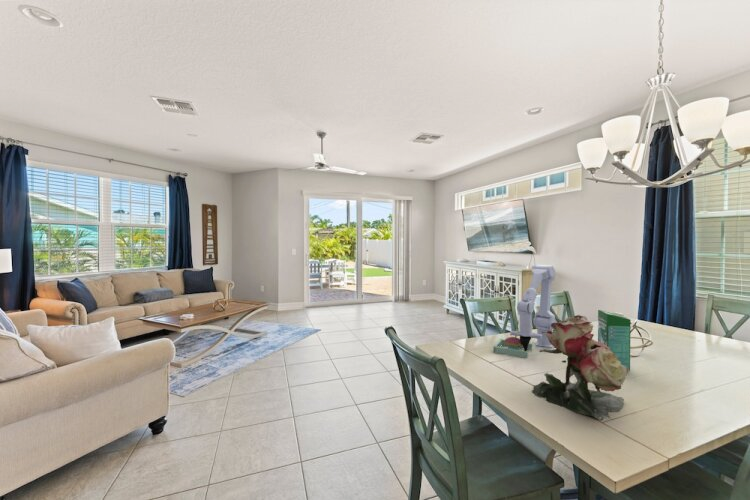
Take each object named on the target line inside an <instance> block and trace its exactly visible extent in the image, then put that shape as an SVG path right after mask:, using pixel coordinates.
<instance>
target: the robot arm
mask: <svg viewBox="0 0 750 500" xmlns="http://www.w3.org/2000/svg"><path fill="white" fill-rule="evenodd" d="M555 272H556V270H555V267H554V266H553V265H551V264H548V265H546V264H533V266H532V267H531V275H532V278H531V281H530V284H529V288H526V290H525V291H524V294H523V296H522V298H521V300H520V301H518V303H517V305H516V310H517V312H518V313H517V314H518V318H519V320H518V321H519V322H518V323H519V326H518V327H519V328H518V329H519V330H518V331H517V332H516V330H510V331H509V335H510V336H514V337H515V336H517V337H519V339H520V340H521V342H522V345H523V348H524V349H523V348H522V349H523V351H528V349H527V348H528V344H529V343H530V342H531V340H532V339H536V343H535V346H539V347H546V348H550V349H552V348H553V347H554V346H553V345H552V344H551V343H550V342H549V339H548V338H547V336H546V335H545V334H544V333H541V332H545V333H547V330H549V331H552V330H553V328H552V327H551V323H557V320H556V315H555V314H554V313H553V312H552V311H551V299H552V296H551V295H552V282H553V281H555V275H556V273H555ZM539 286H540V297H539V299H540V302H539V310H538V311H536V312H535V313H534V318H533V312H534V311H535V302H536V298H537V296H538V292H537V290H538V288H539ZM532 321H533V323H532ZM533 324H534V325H533ZM532 325H533V326H535V328H536V331H537V332H536V333H533V327H532ZM552 332H553V331H552Z"/></svg>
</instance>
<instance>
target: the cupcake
mask: <svg viewBox="0 0 750 500" xmlns="http://www.w3.org/2000/svg"><path fill="white" fill-rule="evenodd" d="M518 329H519V328H518V327H517V328H516V329H515V331H516V332H517V331H519V330H518ZM504 340H505V342H504V343H505V344H506V345H507V346H506V348H509V349H515V350H520V349H521V348H520V346H522V342H521V340H520V337H519V338H518V336H515V335H514V336H510V337H506V338H505V339H504Z"/></svg>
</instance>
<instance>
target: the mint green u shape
mask: <svg viewBox="0 0 750 500" xmlns="http://www.w3.org/2000/svg"><path fill="white" fill-rule="evenodd" d="M504 342H505V339H503V338H500V339H499V340H498V341H497V342H496V343H495V344H494V345H493V353H495V352H497V353H496V354H500V353H502V354H501V355H506V354H507V355H508V356H511V357H513V356H514V357H518V358H525V359H526V357H527V359H528V350H529V349H530V351H532V350H533V343H530V342H529V344H528V348H527V351H524V350H520V349H523V345H522V346H520V348H519V350H515V349H509V348H508V347H507V345H506V344H505V343H504ZM501 345H502V346H501ZM504 345H506V347H504ZM500 346H501V347H500ZM507 355H506V356H507Z"/></svg>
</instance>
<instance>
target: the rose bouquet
mask: <svg viewBox="0 0 750 500" xmlns="http://www.w3.org/2000/svg"><path fill="white" fill-rule="evenodd" d="M556 321H557V322H556V323H551V327H552V328H553V330H552V331H549V330H547V333H545V332H541V333H544V334H545V335H546V336H547V338H548V339H549V342H550V343H551V344H552V345H553V346H552V347H553V349H548V348H545V349H541V350H539V351H538V352H539V353H543V352H544V353H549V354H555V355H556V354H563V355H565V357H566V356H567V358H566V359H565V360H564V359H563V360H561V363H564V364H566V363H567V365H566V368H565V382H563V381H561V379H559V378H557V377H556V376H554V375H553V374H551V373H549V372H546V373H543V375H544V376H545V381H541V382H540V383H538V384H536V385H533V389H532V391H531V393H532V394H533V395H534V396H535V397H538V398H539V399H543V401H546V402H547V403H551V404H554V405H556V406H559V407H564V408H567V409H569V410H572V411H573V412H576V413H578V414H580V415H583V416H587V417H588V416H589V417H593V418H595V419H597V420H599V421H603V420H604V419H605V417H606V418H608V419H610V420H611V419H612V418H611V417H610V415H609V412H620V410H622V408H623V406H624V401H625V399H624V398H623V397H622V396H616V395H613V394H611V393H608V392H615V391H618V390H621V389H622V385H624V382H625V380H626V378H627V377H626V376H627V375H628V372H629V371H628V368H627V367H625V366H623V365H622V364H621V363H620V361H618V357H617V356H615V354H614V353H613V352H612V351H611V350H610V349H609V347H607V344H604V343H600V342H598V340H597V341H596V340H595V339H594V336H595V335H594V333H592V331H593V328H594V324H592V321H589V320H588V318H587V317H586V316H585V315H580V314H577V315H574V316H570V317H566V318H564V320H561V319H560V318H557V319H556ZM554 348H555V349H554ZM525 359H528V358H527V357H526V358H525ZM573 376H574V377H575V379H576V382H575V383H574V382H571V381H570V378H571V377H573ZM589 383H590V384H593V386H594V387H595V389H596V390H593V389H589ZM601 390H602V391H601ZM603 391H604V392H603ZM545 399H546V400H545ZM612 420H614V419H612Z"/></svg>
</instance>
